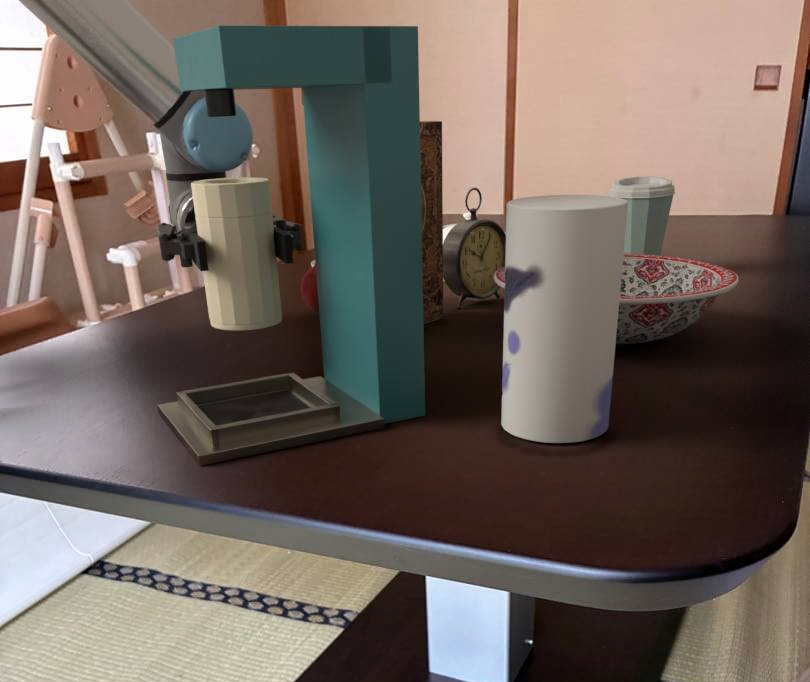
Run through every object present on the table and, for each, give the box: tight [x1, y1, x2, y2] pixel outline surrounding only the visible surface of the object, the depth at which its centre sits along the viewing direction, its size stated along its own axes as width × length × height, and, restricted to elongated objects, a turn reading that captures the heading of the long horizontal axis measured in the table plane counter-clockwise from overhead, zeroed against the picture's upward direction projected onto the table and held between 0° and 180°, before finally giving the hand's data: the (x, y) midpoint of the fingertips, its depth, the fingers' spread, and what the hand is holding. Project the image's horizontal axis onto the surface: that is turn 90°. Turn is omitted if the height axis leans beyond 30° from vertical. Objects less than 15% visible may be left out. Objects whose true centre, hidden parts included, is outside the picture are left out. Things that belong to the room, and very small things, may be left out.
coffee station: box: [157, 25, 426, 467], centre depth 76 cm, size 16×23×33 cm
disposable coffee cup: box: [608, 175, 676, 256], centre depth 139 cm, size 11×11×15 cm
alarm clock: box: [443, 187, 506, 310], centre depth 122 cm, size 11×5×16 cm, turn 131°
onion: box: [300, 263, 319, 315], centre depth 121 cm, size 6×6×8 cm
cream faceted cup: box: [191, 176, 283, 332], centre depth 87 cm, size 8×8×14 cm
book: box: [420, 120, 444, 325], centre depth 110 cm, size 16×6×25 cm, turn 137°
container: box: [500, 194, 628, 444], centre depth 75 cm, size 10×10×20 cm
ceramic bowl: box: [494, 254, 739, 345], centre depth 105 cm, size 29×29×8 cm
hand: (246, 252), depth 82 cm, fingers closed on cream faceted cup, 8 cm apart
